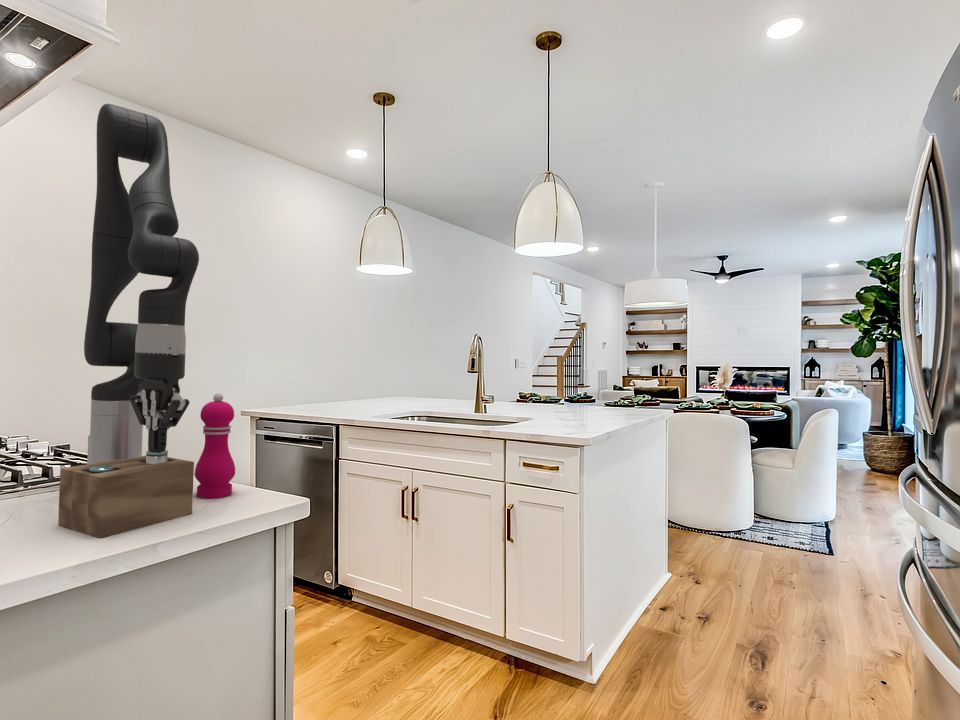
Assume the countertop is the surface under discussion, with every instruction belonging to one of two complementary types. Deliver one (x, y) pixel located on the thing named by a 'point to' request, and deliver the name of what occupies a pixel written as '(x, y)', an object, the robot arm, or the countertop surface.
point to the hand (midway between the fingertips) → (157, 451)
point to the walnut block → (124, 495)
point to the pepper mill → (215, 450)
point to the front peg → (101, 469)
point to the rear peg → (156, 457)
